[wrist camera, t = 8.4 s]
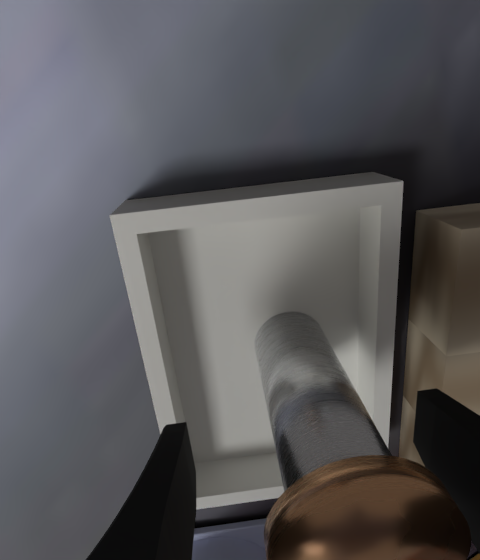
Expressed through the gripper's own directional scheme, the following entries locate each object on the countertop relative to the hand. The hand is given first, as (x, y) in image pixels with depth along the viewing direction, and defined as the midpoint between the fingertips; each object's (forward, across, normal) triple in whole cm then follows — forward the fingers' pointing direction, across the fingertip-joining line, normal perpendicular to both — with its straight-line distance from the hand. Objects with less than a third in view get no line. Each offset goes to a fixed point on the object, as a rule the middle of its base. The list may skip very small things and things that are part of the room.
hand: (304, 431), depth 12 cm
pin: (+5, 0, 0) cm, 5 cm away
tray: (+6, 0, 0) cm, 6 cm away
